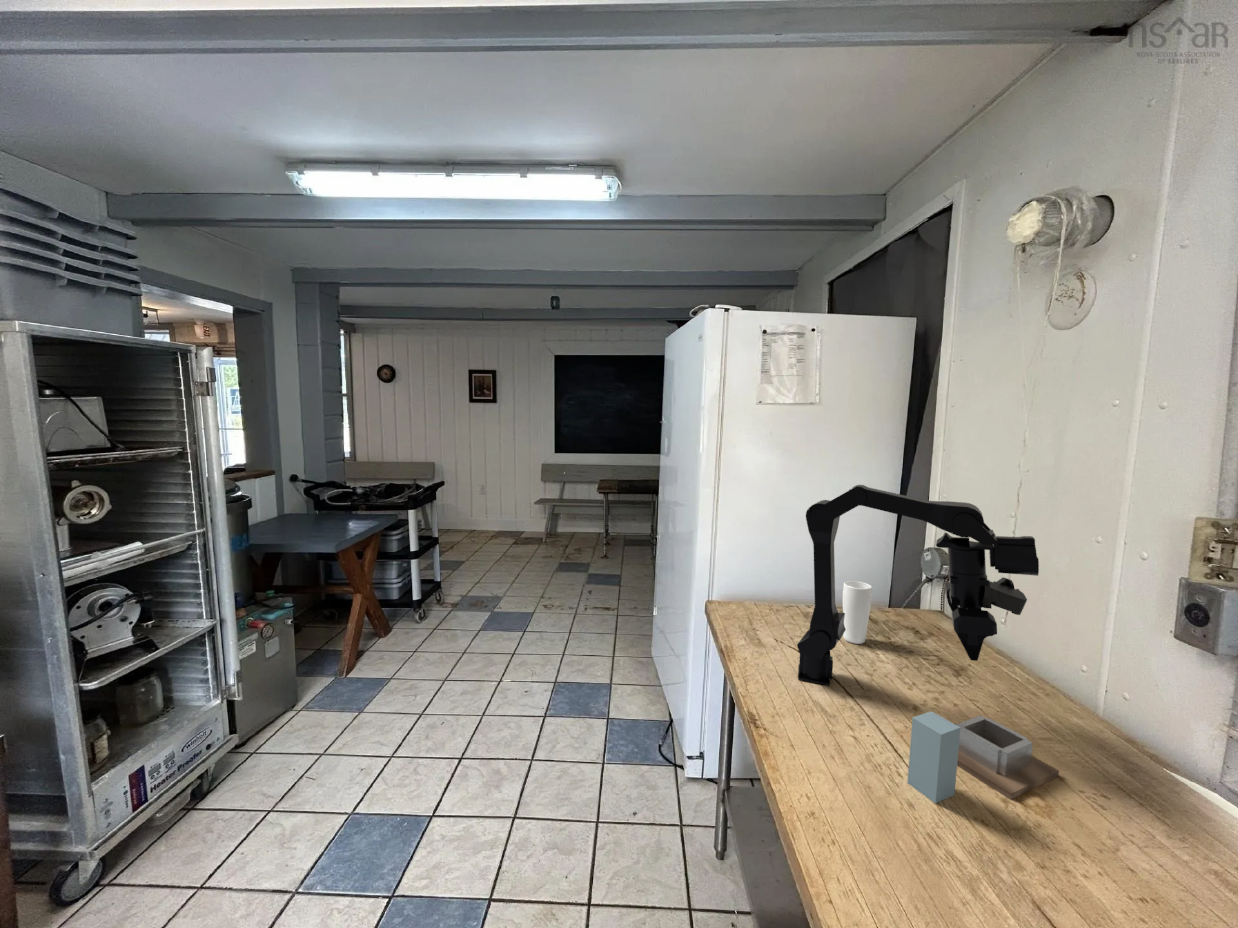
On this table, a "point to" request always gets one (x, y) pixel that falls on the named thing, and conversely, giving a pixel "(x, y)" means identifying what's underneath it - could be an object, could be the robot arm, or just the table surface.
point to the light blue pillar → (933, 756)
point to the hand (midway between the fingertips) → (970, 648)
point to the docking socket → (1000, 757)
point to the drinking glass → (856, 610)
